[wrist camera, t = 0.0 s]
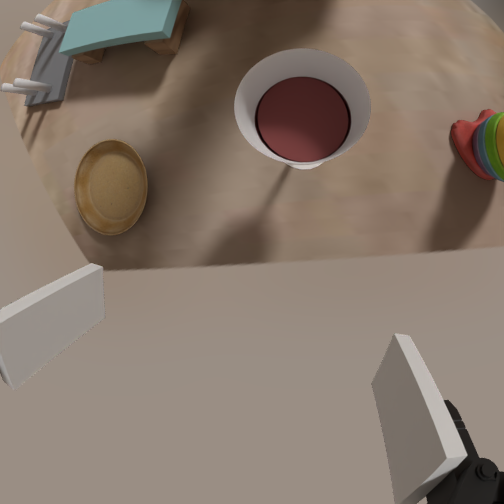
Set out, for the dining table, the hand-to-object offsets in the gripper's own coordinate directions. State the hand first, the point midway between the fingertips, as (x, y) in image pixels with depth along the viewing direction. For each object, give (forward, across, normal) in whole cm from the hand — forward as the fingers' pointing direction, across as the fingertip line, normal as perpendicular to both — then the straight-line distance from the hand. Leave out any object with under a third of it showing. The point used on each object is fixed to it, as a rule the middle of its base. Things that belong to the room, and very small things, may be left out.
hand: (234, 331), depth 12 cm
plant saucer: (+28, -26, +1) cm, 39 cm away
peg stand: (+28, -48, +25) cm, 61 cm away
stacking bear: (+28, +28, +18) cm, 44 cm away
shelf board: (+23, -28, +27) cm, 45 cm away
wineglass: (+28, +1, +11) cm, 30 cm away
